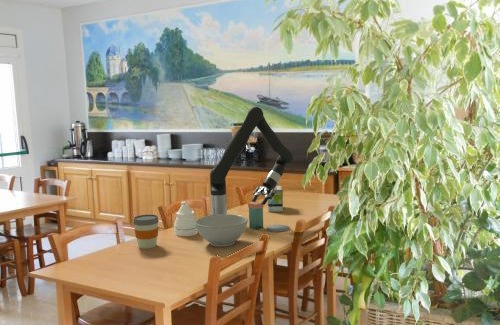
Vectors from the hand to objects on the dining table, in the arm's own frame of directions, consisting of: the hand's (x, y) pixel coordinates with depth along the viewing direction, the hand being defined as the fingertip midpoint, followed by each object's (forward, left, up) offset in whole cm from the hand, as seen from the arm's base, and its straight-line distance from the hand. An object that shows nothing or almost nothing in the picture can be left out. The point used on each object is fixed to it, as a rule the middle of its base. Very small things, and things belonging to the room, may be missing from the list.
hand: (257, 202), depth 281 cm
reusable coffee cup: (-65, -8, -14) cm, 67 cm away
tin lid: (-2, -1, -4) cm, 4 cm away
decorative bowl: (-29, -21, -14) cm, 38 cm away
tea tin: (-2, -1, -14) cm, 14 cm away
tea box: (+27, +37, -15) cm, 49 cm away
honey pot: (-41, +7, -15) cm, 44 cm away
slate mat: (+8, -9, -14) cm, 19 cm away
